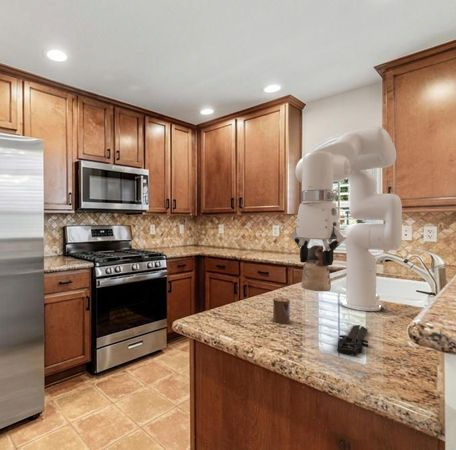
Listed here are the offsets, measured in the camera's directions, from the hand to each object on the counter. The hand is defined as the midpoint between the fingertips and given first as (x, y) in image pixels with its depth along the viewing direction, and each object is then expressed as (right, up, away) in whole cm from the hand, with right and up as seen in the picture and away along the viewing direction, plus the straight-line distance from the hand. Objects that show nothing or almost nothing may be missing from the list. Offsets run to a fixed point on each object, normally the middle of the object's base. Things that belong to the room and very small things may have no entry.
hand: (315, 263), depth 86 cm
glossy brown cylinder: (-3, -21, +15) cm, 26 cm away
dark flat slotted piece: (+10, -21, 0) cm, 23 cm away
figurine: (0, -7, 0) cm, 7 cm away
